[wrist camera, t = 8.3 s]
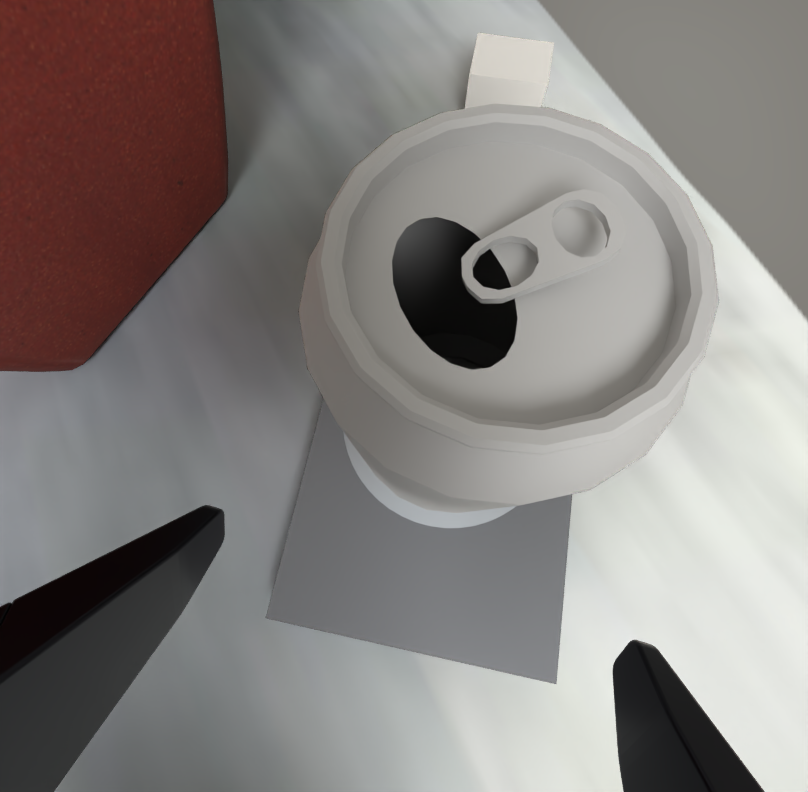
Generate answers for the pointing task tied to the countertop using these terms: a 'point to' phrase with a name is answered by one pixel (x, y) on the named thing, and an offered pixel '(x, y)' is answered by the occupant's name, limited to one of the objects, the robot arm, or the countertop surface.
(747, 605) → the countertop surface
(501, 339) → the can
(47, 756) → the robot arm
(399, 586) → the pad
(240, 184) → the countertop surface
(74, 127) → the plant pot
